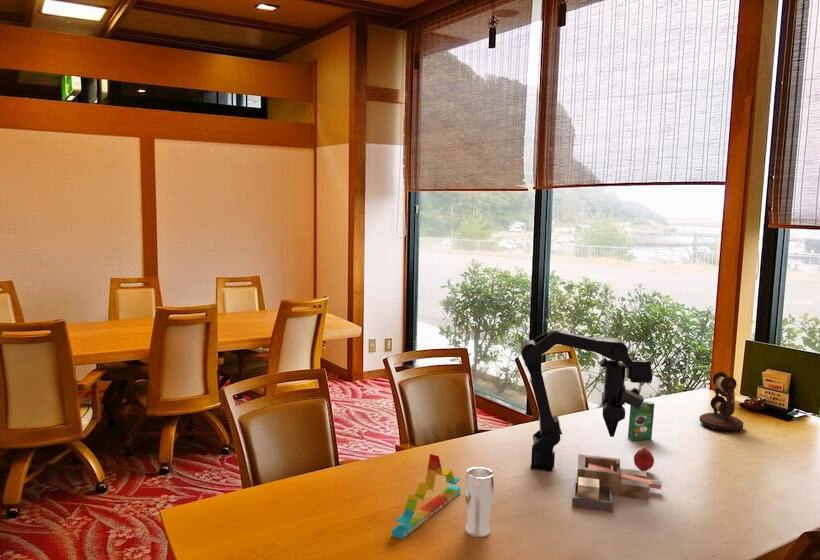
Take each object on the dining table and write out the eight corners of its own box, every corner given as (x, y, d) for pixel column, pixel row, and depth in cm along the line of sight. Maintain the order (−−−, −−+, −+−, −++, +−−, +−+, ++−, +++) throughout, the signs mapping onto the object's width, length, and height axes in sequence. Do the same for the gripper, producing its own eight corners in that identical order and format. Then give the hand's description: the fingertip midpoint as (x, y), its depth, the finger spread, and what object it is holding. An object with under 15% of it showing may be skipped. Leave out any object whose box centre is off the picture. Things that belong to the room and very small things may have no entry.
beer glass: (461, 524, 163) (463, 467, 161) (488, 523, 164) (491, 466, 162) (466, 538, 156) (468, 478, 154) (494, 537, 157) (497, 478, 155)
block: (577, 500, 176) (578, 484, 175) (577, 492, 181) (578, 476, 181) (598, 503, 174) (599, 487, 174) (598, 495, 180) (599, 479, 179)
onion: (654, 476, 195) (656, 450, 194) (634, 474, 196) (636, 449, 195) (651, 469, 201) (653, 444, 200) (631, 467, 202) (633, 442, 201)
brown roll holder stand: (750, 434, 234) (755, 380, 232) (709, 433, 235) (713, 378, 232) (731, 420, 249) (735, 369, 247) (692, 419, 249) (696, 368, 247)
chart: (403, 540, 155) (404, 480, 153) (392, 536, 157) (393, 477, 155) (461, 494, 181) (462, 442, 179) (450, 491, 183) (452, 439, 181)
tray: (572, 506, 174) (572, 497, 174) (573, 490, 184) (573, 482, 184) (611, 512, 171) (612, 503, 171) (610, 496, 181) (611, 487, 181)
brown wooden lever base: (576, 490, 184) (577, 468, 183) (577, 474, 195) (578, 454, 194) (648, 500, 179) (650, 477, 178) (645, 483, 190) (646, 462, 189)
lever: (587, 475, 185) (588, 468, 185) (587, 466, 192) (589, 459, 191) (661, 492, 180) (663, 485, 180) (659, 482, 187) (660, 476, 186)
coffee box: (647, 436, 229) (650, 400, 228) (652, 439, 226) (655, 403, 225) (627, 438, 227) (629, 401, 226) (631, 441, 225) (634, 404, 223)
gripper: (645, 392, 184) (641, 445, 186) (640, 376, 202) (637, 424, 204) (604, 388, 187) (601, 440, 189) (603, 372, 205) (600, 420, 207)
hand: (611, 431), depth 197 cm, fingers open, 9 cm apart
